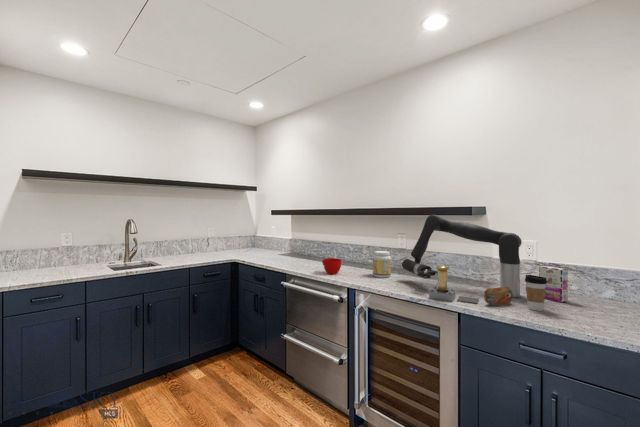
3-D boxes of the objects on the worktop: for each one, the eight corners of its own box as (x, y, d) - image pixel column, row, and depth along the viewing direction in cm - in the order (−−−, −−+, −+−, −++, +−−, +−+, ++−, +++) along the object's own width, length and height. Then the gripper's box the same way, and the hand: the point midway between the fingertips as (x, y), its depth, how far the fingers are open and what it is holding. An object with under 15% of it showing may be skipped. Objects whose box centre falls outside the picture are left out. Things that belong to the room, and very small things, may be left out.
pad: (478, 299, 156) (478, 298, 156) (477, 304, 149) (477, 302, 149) (459, 297, 161) (459, 295, 161) (457, 301, 153) (457, 300, 153)
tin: (487, 306, 145) (487, 288, 145) (482, 304, 148) (482, 287, 148) (513, 304, 149) (513, 286, 149) (507, 302, 153) (507, 285, 152)
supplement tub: (369, 275, 216) (369, 251, 216) (385, 274, 220) (385, 250, 220) (378, 278, 205) (378, 253, 205) (394, 277, 208) (394, 252, 208)
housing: (455, 296, 162) (455, 288, 162) (452, 301, 153) (452, 293, 153) (433, 293, 168) (433, 286, 168) (429, 298, 158) (429, 290, 158)
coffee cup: (525, 304, 148) (525, 273, 148) (547, 308, 143) (547, 276, 143) (523, 309, 142) (523, 276, 141) (546, 313, 136) (546, 279, 136)
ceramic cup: (329, 270, 233) (329, 257, 233) (345, 273, 220) (345, 259, 220) (316, 272, 224) (316, 258, 224) (331, 276, 211) (331, 261, 211)
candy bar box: (568, 301, 154) (568, 269, 154) (561, 302, 152) (561, 269, 152) (544, 296, 164) (545, 265, 164) (538, 297, 162) (538, 265, 162)
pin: (449, 296, 161) (449, 266, 161) (447, 299, 156) (447, 268, 156) (437, 295, 164) (437, 265, 164) (435, 297, 159) (435, 266, 159)
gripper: (411, 264, 180) (425, 269, 164) (434, 264, 182) (449, 268, 166) (411, 277, 180) (424, 283, 164) (434, 276, 182) (449, 282, 166)
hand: (437, 276), depth 165 cm, fingers open, 8 cm apart
